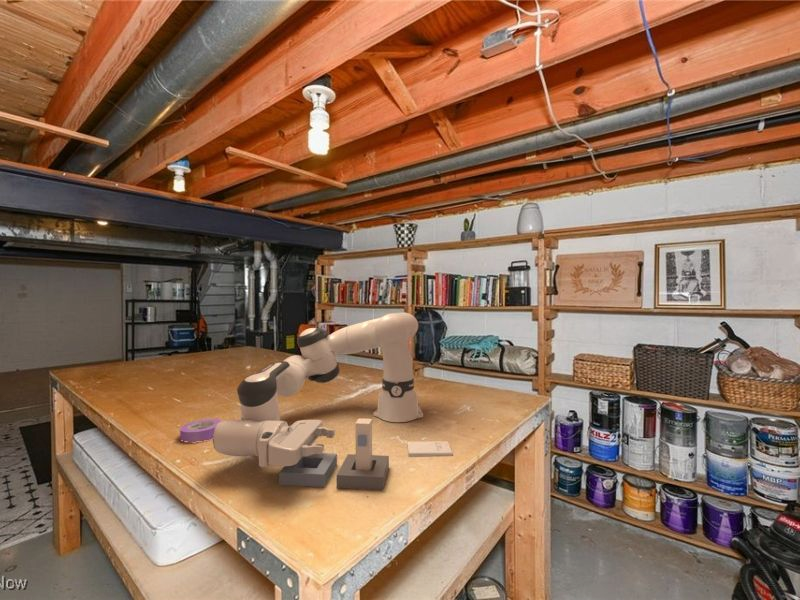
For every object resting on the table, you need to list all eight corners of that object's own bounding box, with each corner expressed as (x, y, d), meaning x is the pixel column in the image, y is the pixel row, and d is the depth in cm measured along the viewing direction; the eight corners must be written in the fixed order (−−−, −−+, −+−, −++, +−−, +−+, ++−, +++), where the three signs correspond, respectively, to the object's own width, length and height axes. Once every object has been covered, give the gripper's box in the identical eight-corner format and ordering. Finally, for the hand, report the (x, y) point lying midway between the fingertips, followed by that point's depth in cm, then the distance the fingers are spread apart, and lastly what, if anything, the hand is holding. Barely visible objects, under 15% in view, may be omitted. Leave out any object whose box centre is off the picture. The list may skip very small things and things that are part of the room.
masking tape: (177, 446, 106) (176, 434, 106) (183, 433, 117) (183, 421, 117) (220, 440, 111) (220, 428, 111) (222, 427, 121) (222, 416, 121)
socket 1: (297, 463, 95) (297, 452, 95) (336, 464, 94) (336, 453, 94) (279, 484, 84) (279, 472, 84) (324, 487, 83) (324, 474, 83)
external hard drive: (407, 446, 107) (447, 445, 107) (408, 458, 98) (452, 457, 99) (407, 441, 107) (447, 440, 107) (408, 452, 98) (452, 452, 99)
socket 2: (347, 465, 93) (347, 454, 93) (388, 467, 92) (388, 455, 92) (336, 487, 82) (336, 475, 82) (382, 490, 81) (382, 477, 81)
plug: (358, 473, 89) (358, 418, 89) (372, 473, 89) (372, 418, 89) (355, 481, 85) (354, 424, 85) (369, 482, 85) (368, 425, 84)
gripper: (292, 435, 99) (339, 437, 98) (256, 470, 79) (315, 473, 78) (292, 413, 99) (339, 414, 98) (256, 443, 79) (315, 445, 78)
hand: (328, 441), depth 88 cm, fingers open, 8 cm apart
